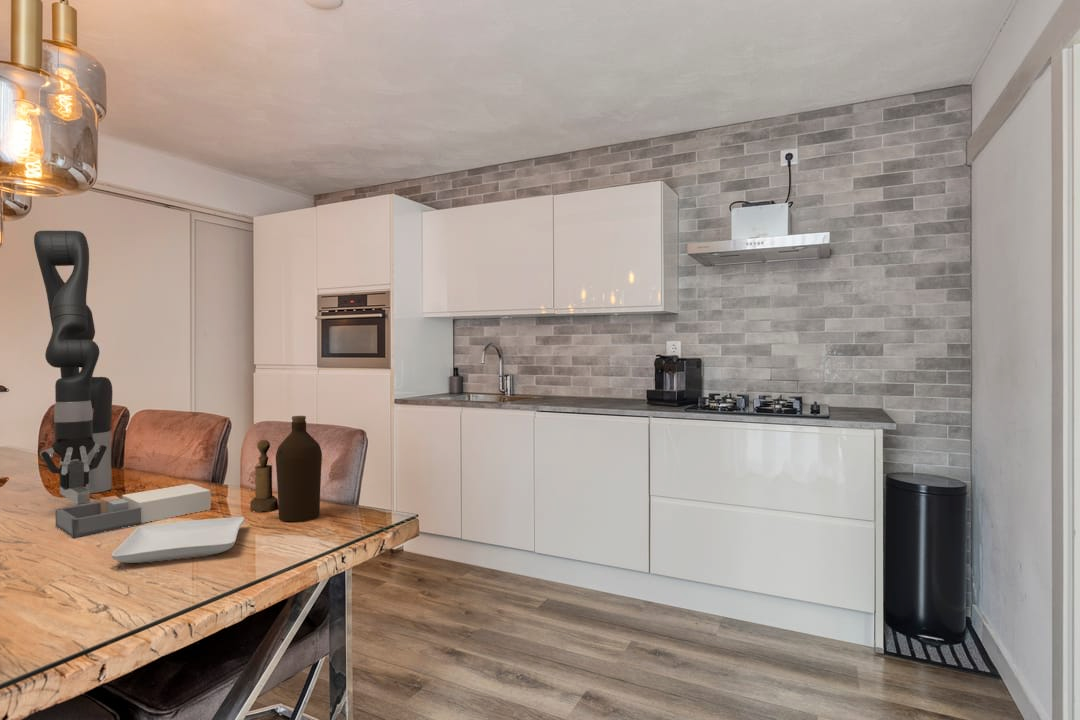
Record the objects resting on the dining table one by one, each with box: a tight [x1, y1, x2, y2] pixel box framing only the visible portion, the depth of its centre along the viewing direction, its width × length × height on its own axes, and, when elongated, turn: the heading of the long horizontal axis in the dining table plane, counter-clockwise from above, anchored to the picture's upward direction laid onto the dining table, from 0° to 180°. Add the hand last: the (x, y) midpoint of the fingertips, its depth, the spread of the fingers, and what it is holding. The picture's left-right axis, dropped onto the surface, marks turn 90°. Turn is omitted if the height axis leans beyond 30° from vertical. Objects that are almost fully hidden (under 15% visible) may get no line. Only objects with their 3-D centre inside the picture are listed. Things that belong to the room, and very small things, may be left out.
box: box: [55, 497, 142, 539], centre depth 140 cm, size 14×13×4 cm
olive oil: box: [275, 415, 323, 522], centre depth 147 cm, size 11×11×25 cm
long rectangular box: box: [121, 483, 212, 524], centre depth 151 cm, size 12×16×5 cm
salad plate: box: [110, 516, 245, 564], centre depth 125 cm, size 21×21×3 cm
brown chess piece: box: [249, 439, 278, 513], centre depth 154 cm, size 7×6×18 cm
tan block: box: [99, 495, 120, 514], centre depth 144 cm, size 4×4×3 cm
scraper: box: [59, 460, 91, 506], centre depth 149 cm, size 16×3×9 cm, turn 51°
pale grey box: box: [107, 498, 129, 513], centre depth 141 cm, size 4×4×3 cm
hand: (74, 487), depth 149 cm, fingers closed on scraper, 3 cm apart
